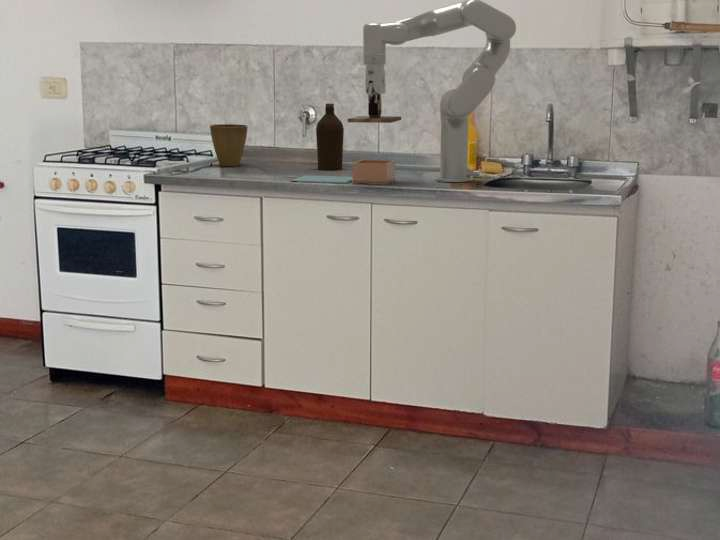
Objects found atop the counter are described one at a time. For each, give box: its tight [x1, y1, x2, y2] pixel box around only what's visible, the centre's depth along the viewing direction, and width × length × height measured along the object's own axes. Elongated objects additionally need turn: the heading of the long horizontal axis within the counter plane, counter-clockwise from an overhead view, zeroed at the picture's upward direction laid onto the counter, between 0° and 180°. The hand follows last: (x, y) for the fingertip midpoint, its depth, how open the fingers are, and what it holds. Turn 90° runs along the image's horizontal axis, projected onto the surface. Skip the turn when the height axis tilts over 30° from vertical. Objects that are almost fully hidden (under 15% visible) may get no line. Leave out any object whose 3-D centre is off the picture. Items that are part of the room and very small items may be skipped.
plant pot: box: [209, 123, 249, 167], centre depth 417 cm, size 15×15×16 cm
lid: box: [347, 99, 402, 124], centre depth 361 cm, size 15×15×7 cm
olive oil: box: [315, 103, 345, 171], centre depth 404 cm, size 11×11×25 cm
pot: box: [352, 159, 396, 185], centre depth 365 cm, size 12×12×7 cm
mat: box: [290, 175, 353, 184], centre depth 371 cm, size 20×16×1 cm
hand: (374, 114), depth 361 cm, fingers closed on lid, 4 cm apart
